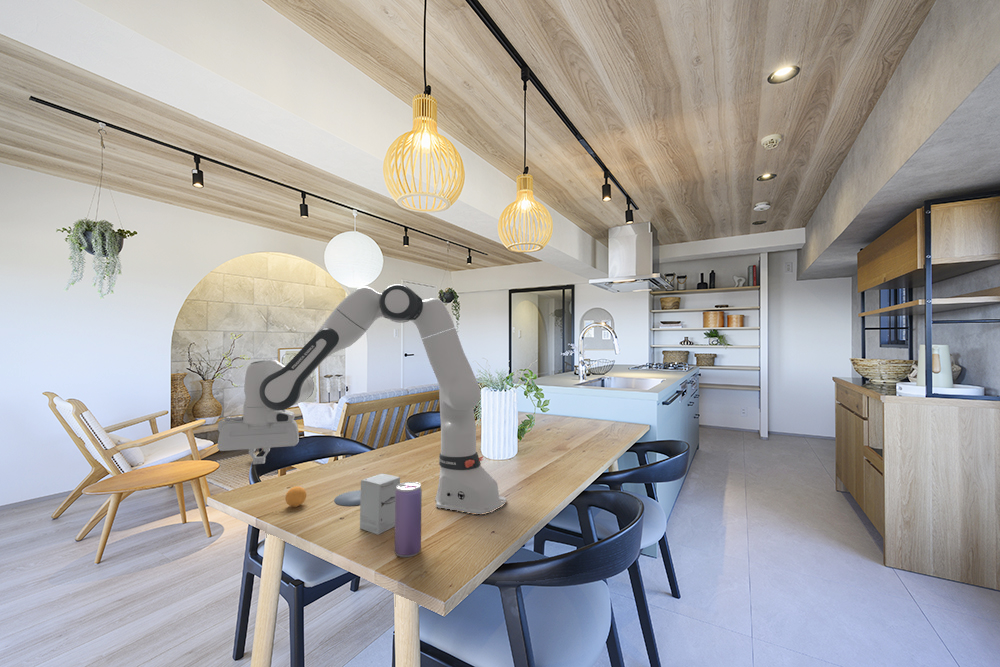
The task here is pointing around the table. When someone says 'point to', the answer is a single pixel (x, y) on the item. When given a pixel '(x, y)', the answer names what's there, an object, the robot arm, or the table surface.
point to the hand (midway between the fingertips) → (259, 463)
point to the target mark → (349, 498)
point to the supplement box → (378, 503)
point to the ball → (295, 496)
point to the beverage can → (408, 519)
